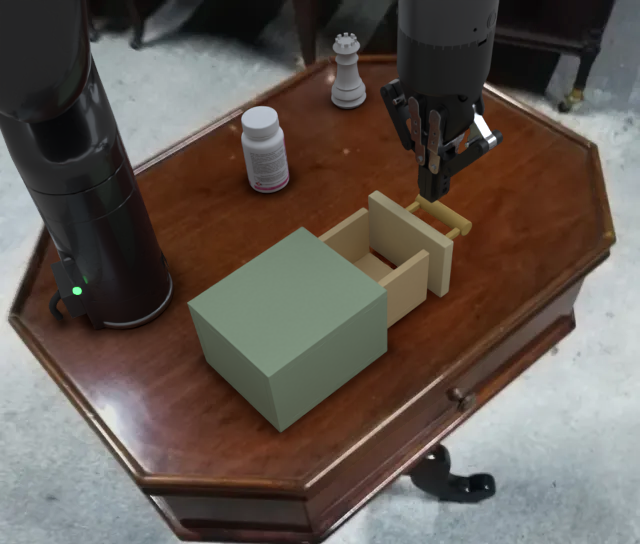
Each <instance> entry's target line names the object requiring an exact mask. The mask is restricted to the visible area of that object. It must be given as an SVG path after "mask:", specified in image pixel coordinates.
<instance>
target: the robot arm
mask: <svg viewBox="0 0 640 544" xmlns="http://www.w3.org/2000/svg"><path fill="white" fill-rule="evenodd" d="M499 4H500V0H397V36H396V37H397V43H396V44H397V45H396V72H397V75H398V77H396V78H395V79H393V80H391V81H390V82H388V83H386V84H384V85H383V86H382V87H380V89H379V94H380V96H381V99H382V101H383V103H384V106H385V108H386V110H387V113H388V115H389V117H390V119H391V122H392V124H393V126H394V129H395V131H396V133H397V136H398V138H399V140H400V143H401V145H402V147H403V149H404V150H406V152H407V151H408V152H409V151H412V152H413V153H414V158H415V161H416V164H418V165H417V166H418V168H417V186H418V189H419V193H418V194H419V195H420V196H421V197H423V198H424V199H426V200H427V201H429V202H430V203H433V202H435V201H436V200H437V201H439V200H440V199H441V198H443V197H445V196H446V195H447V194H448V193H449V191H450V189H451V180H452V179H451V178H452V177H455V175H456V174H458V173H460V172H461V171H463V170H464V169H465V168H467V167H468V166H470V165H472V164H473V163H475V162H476V161H477V160H479V159H480V158H482V157H483V156H485V155H486V154H487V153H489V152H490V151H491V150H493V149H495V148H496V147H498V146H499V145H500V144H501V143H503V141H504V135H503V133H502V132H501V131H500V130H499V129H496V128H495V129H493V130H490V128H489V125H488V123H486V121H485V119H484V117H483V116H484V114H485V111H486V110H485V109H486V106H485V101H484V96H483V89H484V86H485V84H486V81H487V78H488V76H489V73H490V70H491V63H492V55H493V50H494V49H493V48H494V40H495V35H496V34H495V33H496V26H497V18H498V11H499ZM409 119H410V129H409V126H408V123H407V121H408V120H409ZM468 130H469V134H468V136H467V138H466V142H465V143H464V147H465V148H464V149H463V151H461V152H460V153H459V150H460V149H459V147H460V144H461V142H462V141H463V140H464V138H465V134H466V132H467V131H468ZM0 133H1V135H2V138H3V139H4V140H3V141H4V143H5V146H6V148H7V151H8V154H9V156H10V158H11V161H12V162H13V164H14V166H15V168H16V170H17V172H18V175H19V176H20V178H21V179H22V182H23V184H24V186H25V188H26V190H27V192H28V194H29V196H30V198H31V200H32V202H33V204H34V206H35V208H36V210H37V212H38V214H39V215H40V218H41V219H42V221H43V222H42V223H43V224H44V226H45V227H46V230H47V231H48V234H49V235H50V237H51V239H52V241H53V244H54V246H55V249H56V251H57V254H58V257H59V259H60V260H58V261H56V262H53V263H50V265H49V266H50V269H51V271H52V274H53V278H54V281H55V283H56V286H57V290H56V291H55V293H53V295H52V297H51V298H50V300H49V302H48V310H49V312H50V314H51V315H52V316H53V317H54V318H55V320H56V321H58V322H60V321H62V320H63V319H64V315H63V313H62V312H61V311H60V310H59V309H58V307H57V306H58V303H59V301H60V300H61V301H62V302H63V304H64V306H65V308H66V310H67V312H68V313H69V315H70V317H71V319H75V318H78V317H81V316H84V315H86V314H87V317H88V318H89V321H90V322H91V324H92V326H93V329H94V330H97V331H98V330H101V329H103V328H109V329H114V330H126V329H132V328H137V327H141V326H143V325H146V324H147V323H150V322H151V321H153V320H154V319H156V318H157V317H159V316H160V315H161V314H162V313H164V312H165V310H166V309H167V308H168V306H169V305H170V303H171V302H172V299H173V295H174V282H173V279H172V276H171V274H170V272H169V270H171V269H170V266H169V262H168V259H167V258H166V256H165V254H164V252H163V251H162V249H161V247H160V244H159V241H158V238H157V235H156V232H155V229H154V227H153V224H152V221H151V218H150V215H149V213H148V210H147V206H146V203H145V200H144V198H143V195H142V192H141V190H140V187H139V184H138V181H137V177H136V175H135V172H134V169H133V166H132V163H131V160H130V158H129V154H128V151H127V149H126V146H125V143H124V140H123V137H122V134H121V131H120V128H119V125H118V122H117V120H116V116H115V114H114V111H113V109H112V105H111V103H110V100H109V97H108V95H107V92H106V89H105V86H104V84H103V82H102V78H101V76H100V74H99V70H98V68H97V65H96V62H95V59H94V57H93V53H92V48H91V37H90V27H89V18H88V7H87V0H0Z"/></svg>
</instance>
